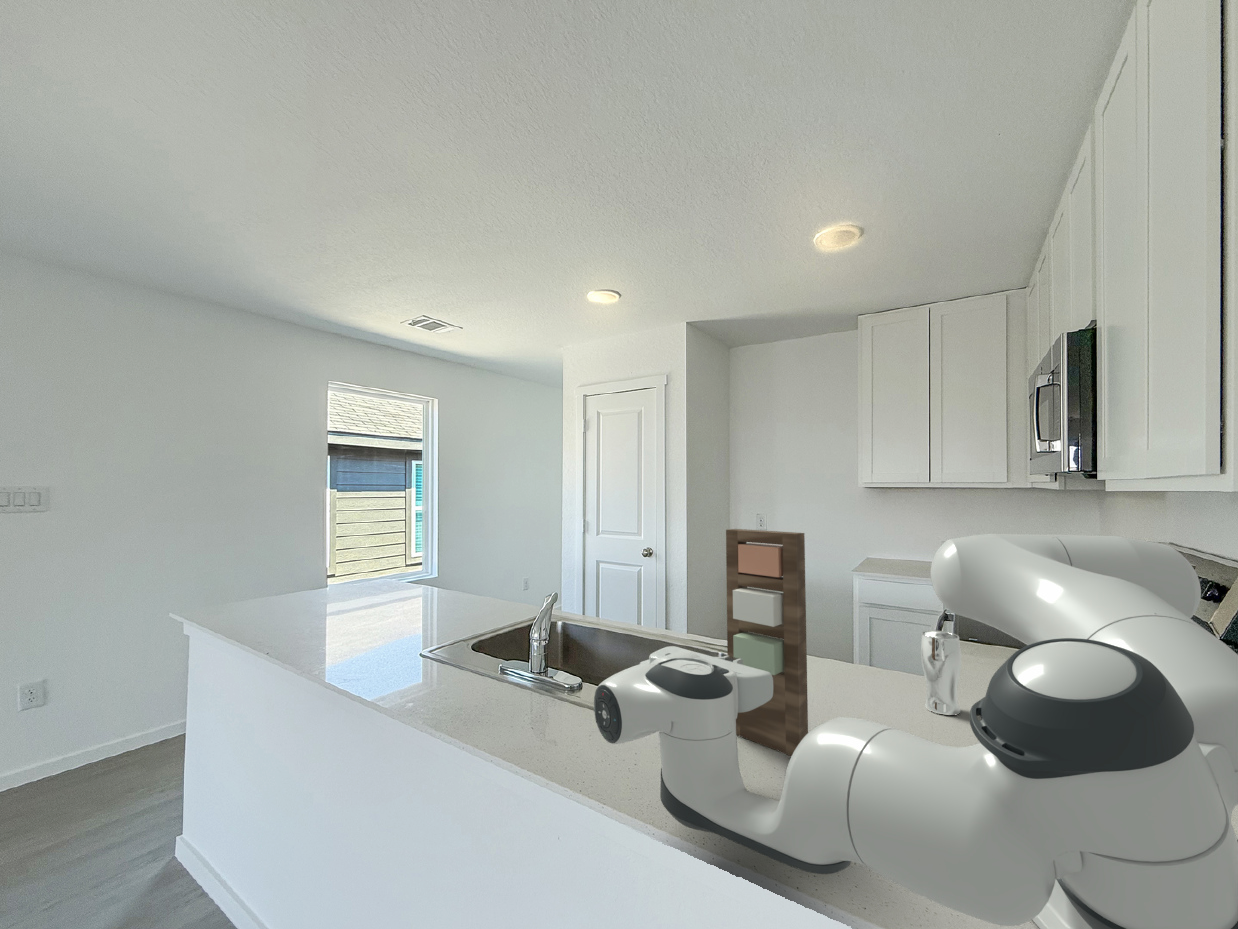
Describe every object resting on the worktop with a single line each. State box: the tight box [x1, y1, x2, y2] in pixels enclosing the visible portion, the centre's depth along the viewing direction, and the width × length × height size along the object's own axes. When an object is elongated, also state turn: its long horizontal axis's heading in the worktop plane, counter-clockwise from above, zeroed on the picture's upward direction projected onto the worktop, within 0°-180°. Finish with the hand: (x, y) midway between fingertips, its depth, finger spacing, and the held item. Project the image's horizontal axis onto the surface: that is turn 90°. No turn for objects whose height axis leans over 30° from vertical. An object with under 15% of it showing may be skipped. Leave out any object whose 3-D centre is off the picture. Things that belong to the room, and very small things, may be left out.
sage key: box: [733, 631, 785, 675], centre depth 93 cm, size 4×8×5 cm, turn 44°
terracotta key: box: [738, 542, 783, 577], centre depth 95 cm, size 4×8×5 cm, turn 44°
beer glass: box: [920, 629, 962, 715], centre depth 107 cm, size 7×7×15 cm
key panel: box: [725, 528, 809, 757], centre depth 94 cm, size 3×14×37 cm, turn 44°
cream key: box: [733, 587, 784, 627], centre depth 93 cm, size 4×8×5 cm, turn 44°
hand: (735, 662), depth 88 cm, fingers closed
